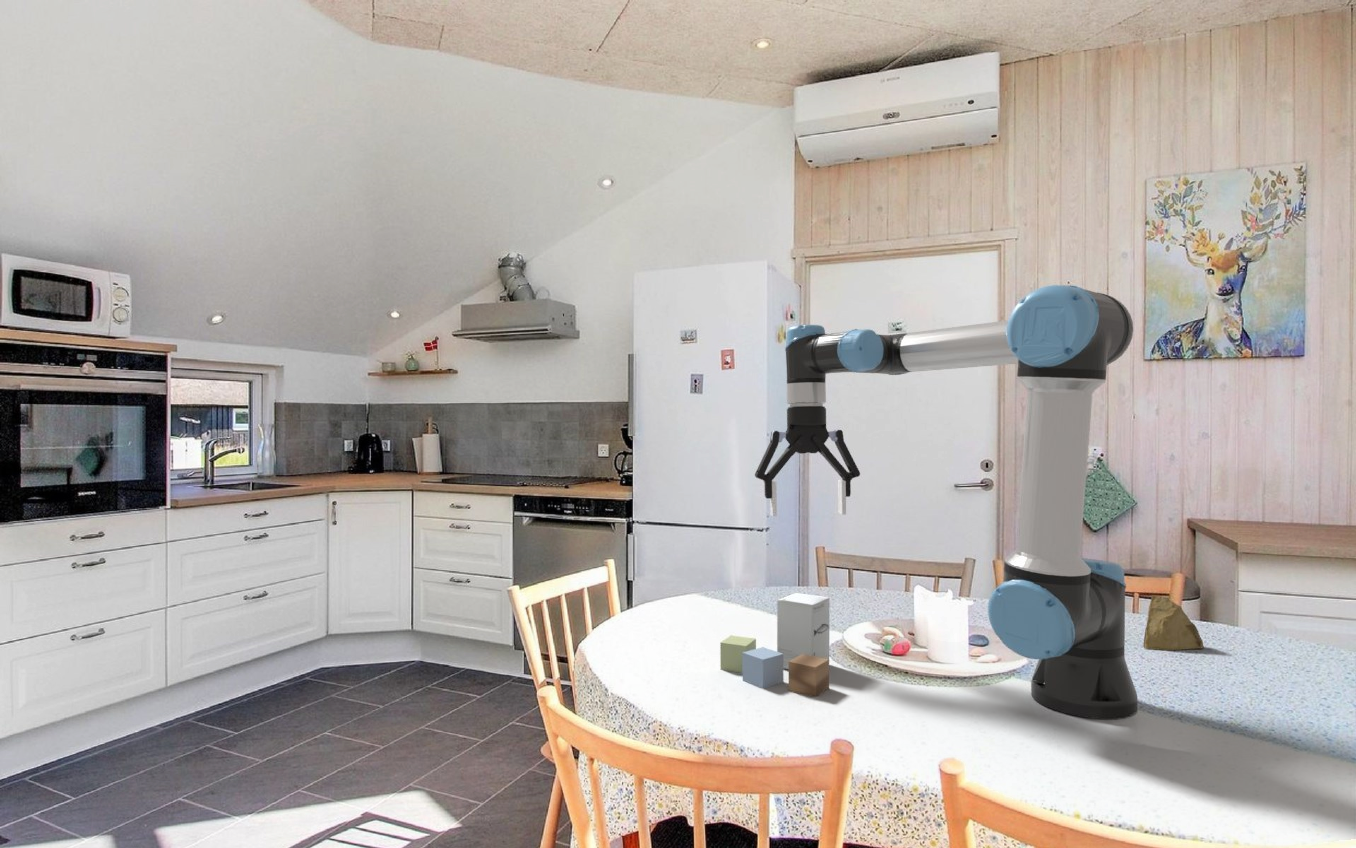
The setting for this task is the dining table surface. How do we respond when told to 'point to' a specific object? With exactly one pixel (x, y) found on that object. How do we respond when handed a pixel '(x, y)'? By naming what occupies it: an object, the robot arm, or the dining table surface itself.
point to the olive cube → (735, 652)
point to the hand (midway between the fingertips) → (807, 514)
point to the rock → (1169, 627)
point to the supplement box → (802, 626)
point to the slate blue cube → (762, 667)
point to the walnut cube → (809, 675)
